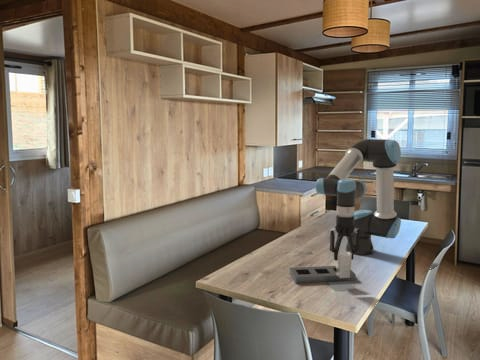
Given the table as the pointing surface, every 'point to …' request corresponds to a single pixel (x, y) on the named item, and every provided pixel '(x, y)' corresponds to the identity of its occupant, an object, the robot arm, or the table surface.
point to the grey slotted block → (318, 275)
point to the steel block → (344, 265)
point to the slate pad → (342, 286)
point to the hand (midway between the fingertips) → (343, 266)
